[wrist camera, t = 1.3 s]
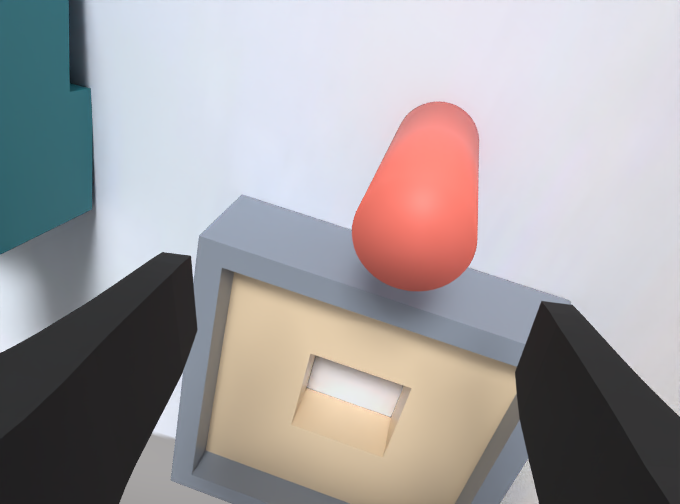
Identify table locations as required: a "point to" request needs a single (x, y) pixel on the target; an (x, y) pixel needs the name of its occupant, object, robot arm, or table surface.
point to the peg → (422, 202)
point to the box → (350, 350)
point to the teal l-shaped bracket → (40, 123)
